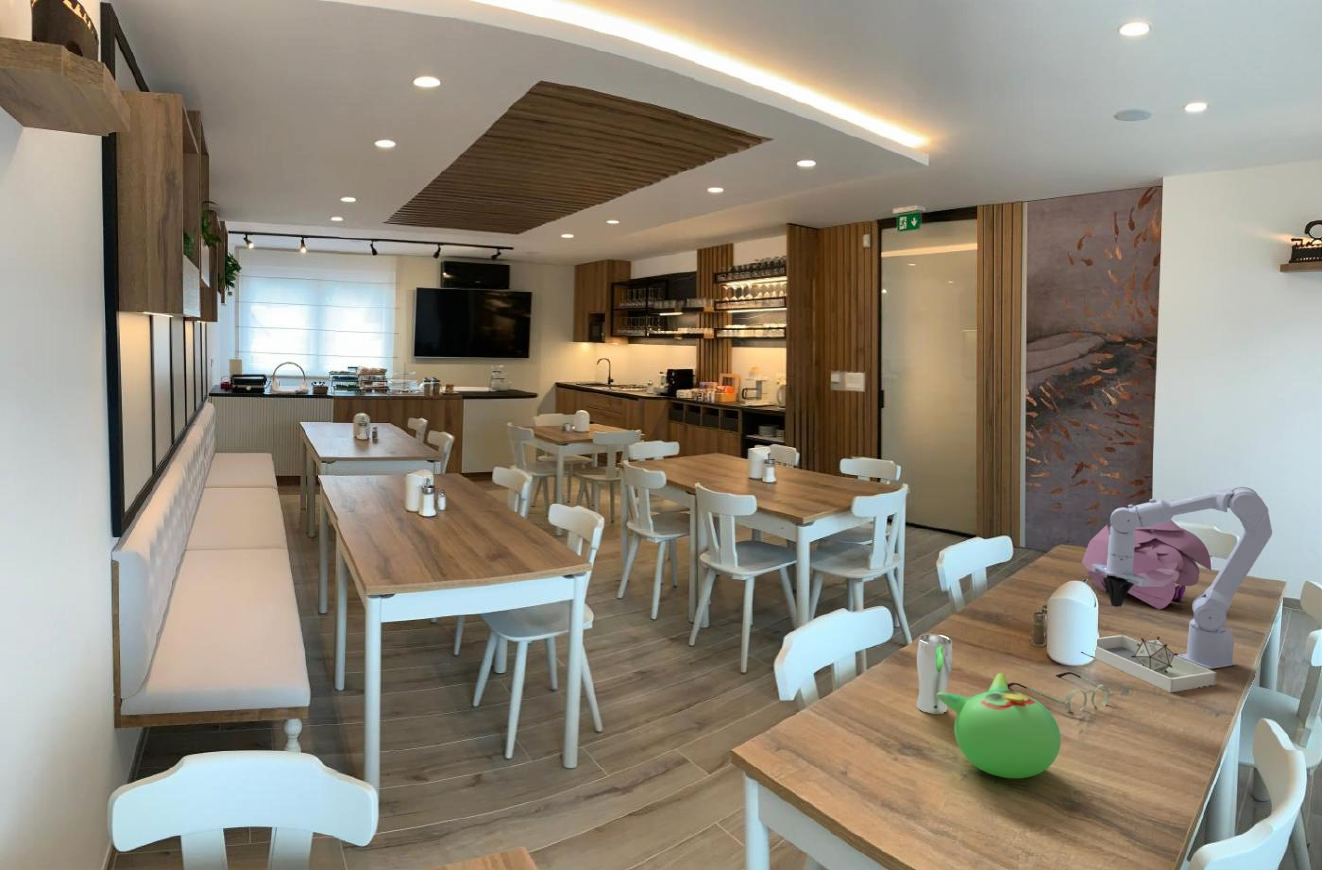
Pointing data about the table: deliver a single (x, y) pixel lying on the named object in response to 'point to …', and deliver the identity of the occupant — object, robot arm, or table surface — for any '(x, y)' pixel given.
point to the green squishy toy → (1004, 731)
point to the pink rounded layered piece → (1155, 561)
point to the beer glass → (933, 671)
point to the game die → (1154, 655)
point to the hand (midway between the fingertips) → (1116, 605)
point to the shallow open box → (1177, 679)
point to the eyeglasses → (1070, 694)
